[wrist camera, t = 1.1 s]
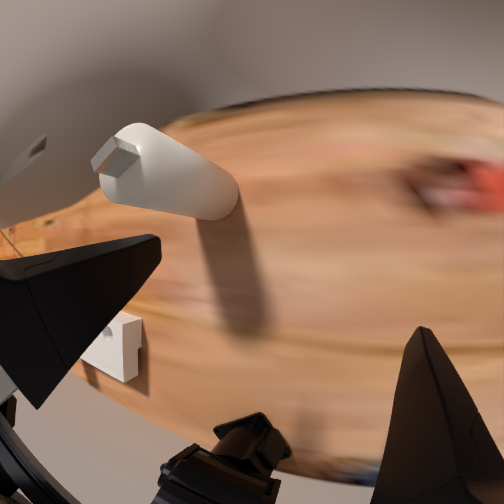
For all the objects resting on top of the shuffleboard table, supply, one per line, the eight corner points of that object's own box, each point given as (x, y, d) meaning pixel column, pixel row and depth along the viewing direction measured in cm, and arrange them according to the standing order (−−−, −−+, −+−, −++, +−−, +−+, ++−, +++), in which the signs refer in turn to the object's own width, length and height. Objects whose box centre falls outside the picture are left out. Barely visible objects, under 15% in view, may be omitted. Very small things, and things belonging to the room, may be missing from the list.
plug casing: (206, 231, 27) (89, 218, 13) (183, 190, 27) (70, 154, 14) (248, 200, 25) (149, 154, 12) (221, 158, 26) (121, 95, 13)
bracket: (77, 339, 34) (37, 350, 27) (76, 292, 34) (32, 298, 26) (143, 372, 30) (99, 395, 23) (143, 317, 30) (94, 332, 22)
